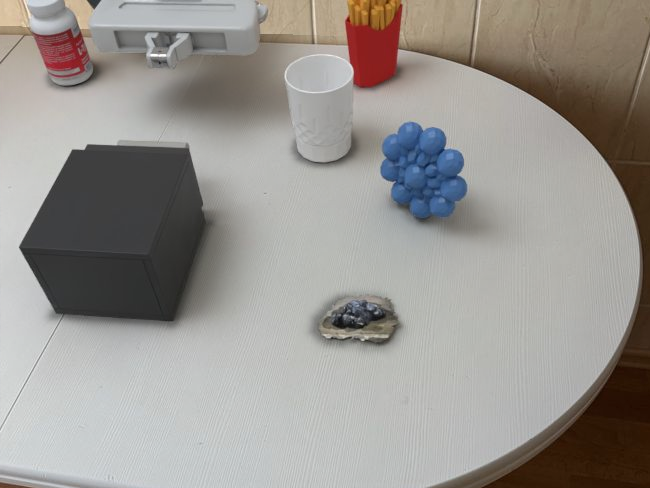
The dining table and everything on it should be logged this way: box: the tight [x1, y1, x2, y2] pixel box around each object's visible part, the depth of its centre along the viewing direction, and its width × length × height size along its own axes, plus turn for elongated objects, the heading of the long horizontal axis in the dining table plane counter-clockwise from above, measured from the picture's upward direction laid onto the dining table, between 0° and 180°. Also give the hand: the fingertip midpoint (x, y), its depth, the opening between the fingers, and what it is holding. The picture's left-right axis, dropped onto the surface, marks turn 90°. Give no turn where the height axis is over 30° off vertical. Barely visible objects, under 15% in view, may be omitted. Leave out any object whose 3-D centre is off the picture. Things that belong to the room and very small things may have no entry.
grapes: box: [379, 121, 468, 219], centre depth 75 cm, size 12×7×12 cm, turn 43°
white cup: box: [283, 53, 354, 163], centre depth 84 cm, size 8×8×10 cm
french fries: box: [344, 0, 404, 88], centre depth 92 cm, size 8×4×12 cm, turn 128°
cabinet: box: [18, 148, 207, 322], centre depth 73 cm, size 15×13×10 cm
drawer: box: [84, 139, 204, 207], centre depth 76 cm, size 18×11×8 cm, turn 173°
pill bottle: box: [25, 0, 94, 86], centre depth 96 cm, size 6×6×11 cm
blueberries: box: [317, 294, 400, 344], centre depth 69 cm, size 7×8×2 cm
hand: (159, 63), depth 80 cm, fingers closed
